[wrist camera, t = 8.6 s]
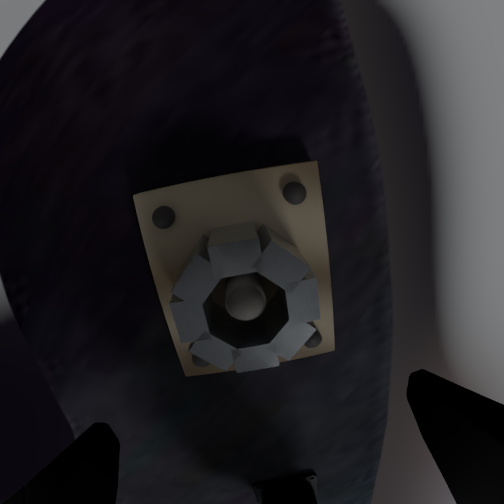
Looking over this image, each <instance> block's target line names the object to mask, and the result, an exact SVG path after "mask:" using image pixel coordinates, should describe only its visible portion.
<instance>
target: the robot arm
mask: <svg viewBox="0 0 504 504" xmlns="http://www.w3.org/2000/svg"><path fill="white" fill-rule="evenodd" d="M407 399H408V402H409V404H410V407H411V409H412V412H413V414H414V417H415V419H416V421H417V424H418V427H419V430H420V432H421V435H422V437H423V439H424V441H425V443H426V445H427V447H428V449H429V451H430V452H431V454H432V456H433V458H434V460H435V462H436V464H437V466H438V468H439V470H440V472H441V473H442V475H443V477H444V479H445V481H446V483H447V485H448V487H449V489H450V491H451V493H452V495H453V497H454V499H455V501H456V503H457V504H504V405H503V404H501V403H498V402H496V401H494V400H492V399H489V398H487V397H484V396H482V395H480V394H477V393H475V392H473V391H471V390H469V389H466V388H464V387H462V386H459V385H457V384H455V383H453V382H451V381H448V380H446V379H444V378H442V377H440V376H437V375H435V374H433V373H431V372H428V371H426V370H424V369H421V370H418V371H415V372H412V373H411V374H410V376H409V381H408V387H407ZM119 452H120V443H119V440H118V438H117V437H116V435H115V434H114V432H113V431H112V429H111V427H110V426H109V425H108V424H107V423H94V424H93V425H91V426H90V427H89V428H88V429H87V430H86V431H85V432H84V433H83V434H81V435H80V436H79V437H78V438H77V439H76V440H75V441H74V442H72V443H71V444H70V445H69V446H68V447H67V448H66V449H65V450H63V452H61V453H60V454H59V455H58V456H57V457H56V458H54V459H53V460H52V461H51V462H50V463H49V464H48V465H46V466H45V467H44V468H43V469H42V470H41V471H40V472H38V473H37V474H36V475H35V476H34V477H33V478H32V479H30V480H29V481H28V482H27V483H26V484H25V486H22V487H21V488H20V489H19V490H18V491H16V492H15V493H14V494H13V495H11V496H10V497H9V498H8V499H6V500H5V501H4V502H2V503H1V504H115V502H116V495H117V488H118V471H119ZM253 486H254V490H255V493H256V495H257V498H258V500H259V502H260V504H317V501H316V499H317V498H318V495H317V476H316V473H309V474H304V475H300V476H295V477H289V478H284V479H278V480H271V481H265V482H258V483H254V484H253Z"/></svg>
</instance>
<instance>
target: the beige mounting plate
mask: <svg viewBox="0 0 504 504" xmlns="http://www.w3.org/2000/svg"><path fill="white" fill-rule="evenodd" d="M133 199H134V203H135V208H136V212H137V216H138V221H139V225H140V229H141V233H142V237H143V241H144V245H145V249H146V253H147V256H148V260H149V264H150V267H151V271H152V275H153V278H154V282H155V285H156V288H157V292H158V295H159V299H160V302H161V305H162V308H163V312H164V315H165V318H166V321H167V324H168V327H169V330H170V333H171V336H172V339H173V342H174V345H175V348H176V351H177V354H178V357H179V359H180V362H181V365H182V368H183V370H184V373H185V376H186V377H187V376H195V375H203V374H211V373H219V372H226V371H224V370H222V369H220V368H218V367H216V366H214V365H213V364H211V363H209V362H207V361H205V360H203V359H201V358H199V357H198V356H196V355H194V354H192V353H190V352H189V346H190V342H188V343H181V341H180V337H179V334H178V331H177V328H176V325H175V322H174V318H173V315H172V312H171V308H170V305H169V302H170V300H171V297H172V295H173V294H172V293H171V290H172V288H173V286H174V283H175V281H176V278H177V276H178V274H179V271H180V269H181V267H182V265H183V264H184V262H185V260H186V259H187V257H188V256H189V254H190V253H191V251H192V250H193V248H194V247H195V245H196V244H197V243H198V241H199V240H200V238H201V237H202V235H203V234H204V235H206V236H207V237H209V238H210V234H211V231H212V228H216V227H222V226H227V225H233V224H239V223H244V222H250V221H253V223H254V226H255V229H256V231H258V230H259V228H260V227H261V226H262V224H263V223H264V224H265V225H266V226H268V227H269V228H271V229H272V230H274V231H275V232H276V233H278V234H279V235H281V236H282V237H284V238H285V239H286V240H288V241H289V242H291V243H292V244H293V245H295V246H296V247H297V249H298V250H299V252H300V253H301V254H302V256H303V257H304V259H305V260H306V261H307V263H308V264H309V266H310V267H311V268H310V269H311V270H312V271H313V273H314V274H315V276H316V277H317V285H318V296H319V308H320V320H315V321H313V323H314V325H315V327H316V329H317V330H316V331H315V332H314V333H313V334H312V335H311V337H310V338H309V339H308V340H307V341H306V342H305V343H304V345H303V346H302V347H301V348H300V349H299V350H298V351H297V352H296V353H295V355H294V356H293V357H292V358H291V359H290V360H294V359H299V358H303V357H308V356H313V355H317V354H321V353H326V352H330V351H334V350H335V343H334V323H333V307H332V292H331V279H330V268H329V256H328V246H327V236H326V227H325V218H324V210H323V202H322V194H321V186H320V179H319V172H318V165H317V161H307V162H299V163H292V164H286V165H279V166H272V167H266V168H260V169H254V170H248V171H242V172H237V173H231V174H226V175H220V176H215V177H210V178H205V179H200V180H195V181H190V182H185V183H181V184H176V185H171V186H167V187H163V188H158V189H154V190H150V191H145V192H141V193H138V194H135V195H133ZM277 291H278V285H277V284H275V283H273V282H272V281H270V280H269V279H267V278H266V277H264V276H263V275H261V274H260V273H258V272H253V273H247V274H242V275H236V276H230V277H225V278H221V279H220V281H219V282H218V283H217V285H216V286H215V288H214V289H213V290H212V292H211V294H212V298H213V301H214V302H215V303H217V304H219V305H220V306H222V307H224V308H225V309H227V311H228V313H229V314H230V315H231V316H232V317H234V318H236V319H238V320H242V321H248V320H253V319H255V318H257V317H258V316H260V315H261V314H262V313H263V311H264V309H265V307H266V305H267V304H268V302H269V301H270V300H271V299H272V297H273V296H274V295H275V294H276V292H277ZM278 361H279V362H284V361H289V360H287V359H285V358H283V357H281V356H279V355H278ZM232 370H236V368H235V364H234V363H233V364H232V365H231V366H230V367H229V368H228V369H227V371H232Z"/></svg>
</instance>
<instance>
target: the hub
mask: <svg viewBox="0 0 504 504" xmlns="http://www.w3.org/2000/svg"><path fill="white" fill-rule="evenodd" d="M310 268H311V267H310V266H309V264H308V263H307V261H306V260H305V259H304V257H303V256H302V254H301V253H300V252H299V250H298V249H297V247H296V246H295V245H293V244H292V243H291V242H289V241H288V240H286V239H285V238H284V237H282V236H281V235H279V234H278V233H276V232H275V231H274V230H272V229H271V228H269V227H268V226H266V225H265V224H264V223H263V224H262V226H261V227H260V228H259V230H258V231H256V229H255V226H254V223H253V221H250V222H244V223H239V224H233V225H227V226H222V227H216V228H212V231H211V234H210V238H209V237H207V236H206V235H204V234H203V235H202V237H201V238H200V240H199V241H198V243H197V244H196V245H195V247H194V248H193V250H192V251H191V253H190V254H189V256H188V257H187V259H186V260H185V262H184V264H183V265H182V267H181V269H180V271H179V274H178V276H177V278H176V281H175V283H174V286H173V288H172V290H171V293H172V294H173V295H172V297H171V300H170V302H169V305H170V308H171V312H172V315H173V318H174V322H175V325H176V328H177V331H178V334H179V337H180V341H181V343H188V342H190V346H189V352H190V353H192V354H194V355H196V356H198V357H199V358H201V359H203V360H205V361H207V362H209V363H211V364H213V365H214V366H216V367H218V368H220V369H222V370H224V371H227V369H228V368H229V367H230V366H231V365H232V364H233V363H234V364H235V368H236V372H237V373H240V372H247V371H253V370H259V369H265V368H270V367H276V366H279V361H278V355H279V356H281V357H283V358H285V359H287V360H290V359H291V358H292V357H293V356H294V355H295V353H296V352H297V351H298V350H299V349H300V348H301V347H302V346H303V345H304V343H305V342H306V341H307V340H308V339H309V338H310V337H311V335H312V334H313V333H314V332H315V331H316V330H317V329H316V327H315V325H314V323H313V321H315V320H320V308H319V296H318V285H317V277H316V276H315V274H314V273H313V271H312V270H311V269H310ZM253 272H258V273H260V274H261V275H263V276H264V277H266V278H267V279H269V280H270V281H272V282H273V283H275V284H277V285H278V291H277V292H276V294H275V295H274V296H273V297H272V299H271V300H270V301H269V302H268V304H267V305H266V307H265V309H264V311H263V313H262V314H261V315H260V316H258V317H257V318H255V319H253V320H248V321H242V320H238V319H236V318H234V317H232V316H231V315H230V314H229V313H228V311H227V309H225V308H224V307H222V306H220V305H219V304H217V303H215V302H214V301H213V298H212V294H211V292H212V290H213V289H214V288H215V286H216V285H217V283H218V282H219V281H220V279H221V278H225V277H230V276H236V275H242V274H247V273H253Z"/></svg>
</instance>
